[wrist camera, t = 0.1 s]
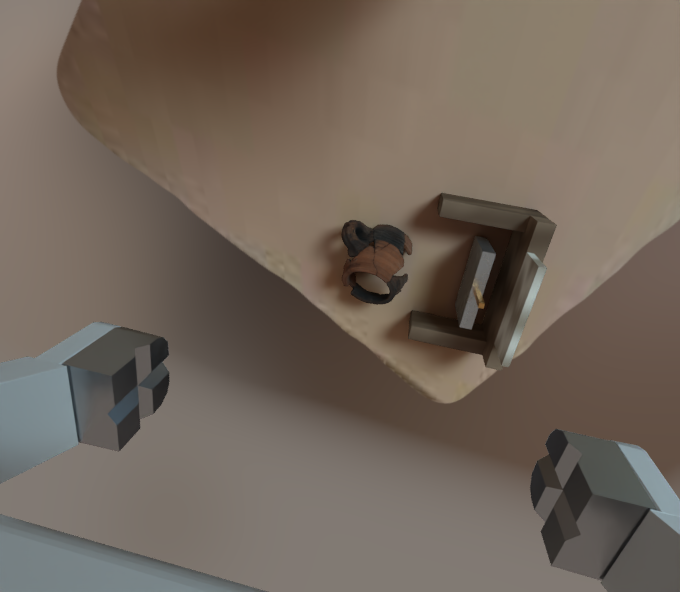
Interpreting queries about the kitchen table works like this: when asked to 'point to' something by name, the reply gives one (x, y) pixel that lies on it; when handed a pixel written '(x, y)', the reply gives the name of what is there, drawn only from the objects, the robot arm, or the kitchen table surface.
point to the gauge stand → (510, 288)
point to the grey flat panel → (474, 282)
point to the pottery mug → (375, 258)
